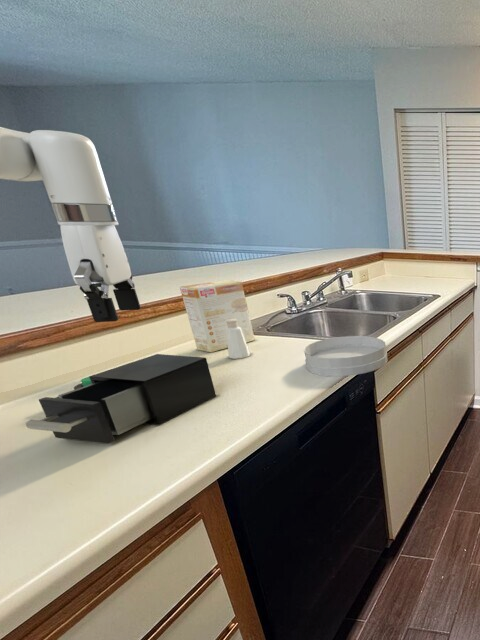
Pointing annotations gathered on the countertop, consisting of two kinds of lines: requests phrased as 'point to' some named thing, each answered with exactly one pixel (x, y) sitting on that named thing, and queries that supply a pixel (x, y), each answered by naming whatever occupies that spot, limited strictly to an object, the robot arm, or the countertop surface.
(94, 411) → the drawer
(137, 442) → the countertop surface
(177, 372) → the cabinet
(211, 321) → the coffeecake box
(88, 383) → the button
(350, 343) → the dish
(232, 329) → the salt shaker
